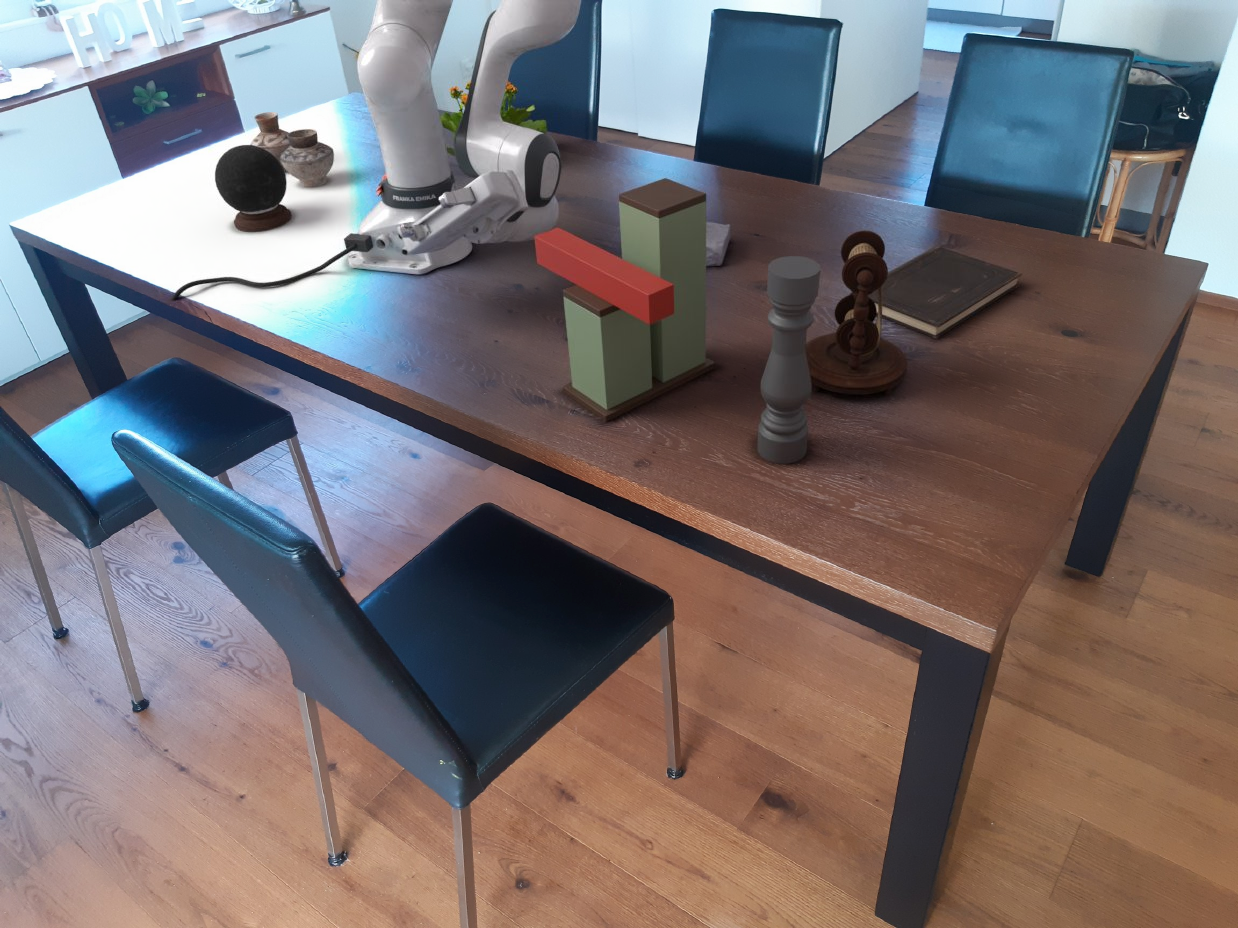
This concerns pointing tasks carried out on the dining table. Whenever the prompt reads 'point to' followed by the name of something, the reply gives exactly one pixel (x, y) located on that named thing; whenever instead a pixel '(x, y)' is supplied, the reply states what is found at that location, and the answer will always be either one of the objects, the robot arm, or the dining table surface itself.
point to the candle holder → (787, 359)
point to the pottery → (295, 150)
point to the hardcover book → (941, 290)
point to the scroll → (858, 328)
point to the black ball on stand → (253, 187)
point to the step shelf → (626, 346)
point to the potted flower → (507, 116)
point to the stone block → (716, 243)
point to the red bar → (606, 275)
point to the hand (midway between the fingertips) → (421, 215)
